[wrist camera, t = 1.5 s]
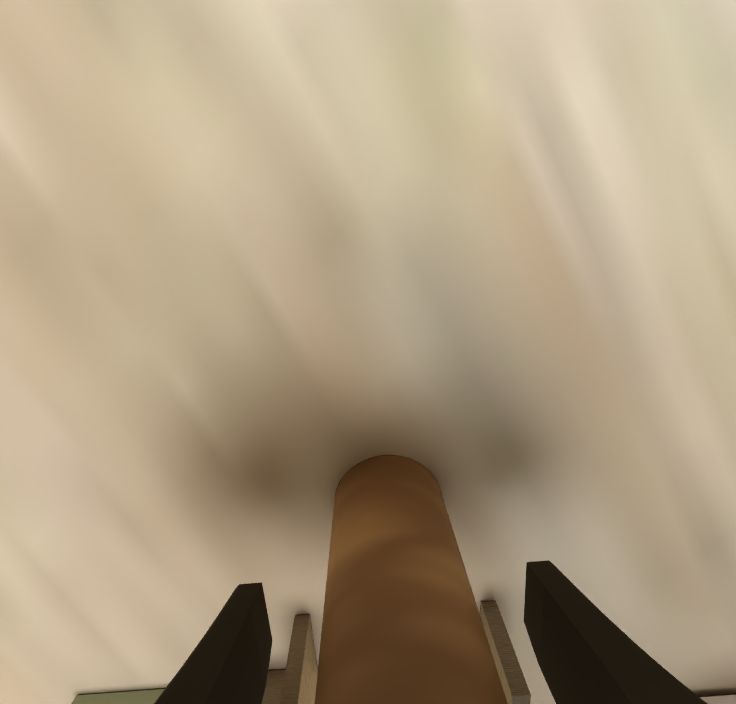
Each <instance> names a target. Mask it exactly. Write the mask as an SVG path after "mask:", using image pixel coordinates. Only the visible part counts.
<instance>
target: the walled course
mask: <svg viewBox="0 0 736 704" xmlns="http://www.w3.org/2000/svg"><path fill="white" fill-rule="evenodd" d="M481 621H482V624H483V627H484V630H485V633H486V636H487V640H488V643H489V646H490V649H491V652H492V655H493V659H494V662H495V665H496V668H497V671H498V674H499V677H500V681H501V684H502V687H503V690H504V693H505V696H506V700H507V703H508V704H530V698H531V695H530V692H529V689H528V686H527V684H526V681H525V678H524V676H523V673H522V670H521V668H520V665H519V662H518V660H517V657H516V654H515V652H514V649H513V646H512V644H511V641H510V638H509V635H508V633H507V630H506V627H505V625H504V622H503V619H502V617H501V614H500V611H499V609H498V606H497V603H496V601H486V602H481ZM317 674H318V669H317V662H316V655H315V648H314V641H313V634H312V627H311V620H310V614H309V615H296V616H295V618H294V624H293V630H292V636H291V641H290V647H289V653H288V659H287V665H286V670H273V671H268V674H267V681H266V687H265V691H264V696H263V700H262V704H315V694H316V684H317Z"/></svg>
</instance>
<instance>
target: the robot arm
mask: <svg viewBox="0 0 736 704" xmlns="http://www.w3.org/2000/svg"><path fill="white" fill-rule="evenodd" d="M524 623H525V626H526V629H527V632H528V635H529V638H530V641H531V644H532V647H533V649H534V652H535V655H536V658H537V661H538V664H539V666H540V668H541V671H542V673H543V675H544V677H545V680H546V682H547V684H548V686H549V689H550V691H551V693H552V695H553V697H554V700H555V702H556V704H736V695H723V696H709V697H698V696H697V695H696V694H695V693H693V692H692V691H691V690H689V689H688V688H687V687H686V686H685V685H683V684H682V683H681V682H680V681H678V680H677V679H676V678H675V677H674V676H672V675H671V674H670V673H669V672H668V671H666V670H665V669H664V668H663V667H662V666H661V665H660V664H658V663H657V662H656V661H655V660H654V659H653V658H651V657H650V656H649V655H648V654H647V653H646V652H644V651H643V650H642V649H641V648H640V647H639V646H638V645H637V644H636V643H634V642H633V641H632V640H631V639H630V638H629V637H628V636H627V635H626V634H625V633H623V632H622V631H621V630H620V629H619V628H618V627H617V626H616V625H615V624H614V623H613V622H612V621H611V620H609V619H608V618H607V617H606V616H605V615H604V614H603V613H602V612H601V611H600V610H599V609H598V608H597V607H596V606H595V605H594V604H593V603H592V602H591V601H590V600H589V599H588V598H587V597H586V596H585V595H584V594H583V593H582V592H580V591H579V590H578V589H577V588H576V587H575V586H574V585H573V584H572V583H571V582H570V581H569V580H568V579H567V578H566V577H565V576H564V575H563V574H562V573H561V572H560V571H559V570H558V569H557V568H556V567H555V566H554V565H553V564H552V563H551V562H550V561H537V562H527V566H526V587H525V608H524ZM271 646H272V636H271V630H270V625H269V619H268V614H267V608H266V603H265V597H264V592H263V587H262V583H251V584H239V585H238V586H237V588H236V589H235V590H234V592H233V593H232V595H231V596H230V598H229V600H228V601H227V603H226V604H225V606H224V607H223V609H222V610H221V612H220V613H219V615H218V616H217V618H216V619H215V621H214V622H213V624H212V625H211V626H210V628H209V629H208V631H207V632H206V634H205V635H204V637H203V638H202V640H201V641H200V642H199V644H198V645H197V647H196V648H195V649H194V651H193V652H192V653H191V655H190V656H189V658H188V659H187V660H186V662H185V663H184V665H183V666H182V667H181V669H180V670H179V671H178V673H177V674H176V675H175V677H174V678H173V679H172V681H171V682H170V683H169V684H168V686H167V687H166V688H165V690H164V691H163V692H162V693H161V695H160V696H159V697H158V699H157V700H156V701H155V703H154V704H262V700H263V696H264V691H265V687H266V681H267V674H268V668H269V661H270V653H271Z"/></svg>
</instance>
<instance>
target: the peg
mask: <svg viewBox="0 0 736 704" xmlns="http://www.w3.org/2000/svg"><path fill="white" fill-rule="evenodd" d="M315 704H508V703H507V700H506V696H505V693H504V690H503V687H502V684H501V681H500V677H499V674H498V671H497V668H496V665H495V662H494V659H493V655H492V652H491V649H490V646H489V643H488V640H487V636H486V633H485V630H484V627H483V624H482V621H481V617H480V614H479V611H478V608H477V605H476V602H475V599H474V595H473V592H472V589H471V586H470V583H469V580H468V576H467V573H466V570H465V567H464V564H463V561H462V557H461V554H460V551H459V548H458V545H457V542H456V539H455V535H454V532H453V529H452V526H451V523H450V520H449V516H448V513H447V510H446V507H445V504H444V501H443V497H442V494H441V491H440V488H439V485H438V483H437V481H436V479H435V478H434V476H433V475H432V474H431V473H430V471H429V470H428V469H426V468H425V467H424V466H423V465H421V464H420V463H418V462H416V461H414V460H412V459H409V458H406V457H402V456H395V455H384V456H377V457H373V458H369V459H367V460H364V461H362V462H360V463H359V464H357V465H355V466H354V467H353V468H351V469H350V470H349V471H348V472H347V473H346V474H345V476H344V477H343V478H342V480H341V481H340V483H339V485H338V487H337V490H336V494H335V501H334V511H333V521H332V531H331V541H330V552H329V562H328V572H327V582H326V592H325V603H324V613H323V623H322V633H321V643H320V654H319V664H318V674H317V684H316V694H315Z"/></svg>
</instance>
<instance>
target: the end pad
mask: <svg viewBox="0 0 736 704" xmlns="http://www.w3.org/2000/svg"><path fill="white" fill-rule="evenodd" d="M164 690H165V689H156V690H143V691H129V692H115V693H102V694H88V695H77V696H76V697H75V699H74V700H73V702H72V704H154V703H155V701H156V700H157V699H158V697H159V696H160V695H161V693H162V692H163V691H164Z"/></svg>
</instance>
